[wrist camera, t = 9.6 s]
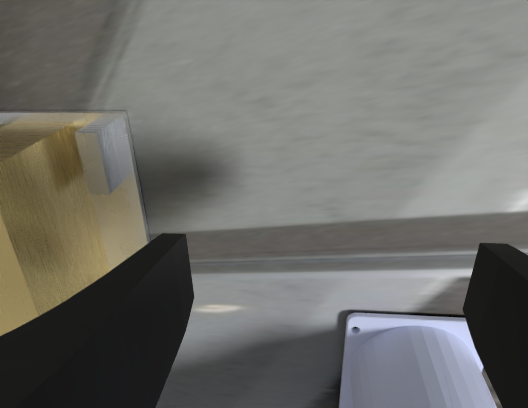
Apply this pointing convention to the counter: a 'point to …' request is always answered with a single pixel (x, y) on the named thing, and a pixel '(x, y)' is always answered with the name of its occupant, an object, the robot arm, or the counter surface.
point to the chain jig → (104, 174)
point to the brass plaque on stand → (44, 222)
